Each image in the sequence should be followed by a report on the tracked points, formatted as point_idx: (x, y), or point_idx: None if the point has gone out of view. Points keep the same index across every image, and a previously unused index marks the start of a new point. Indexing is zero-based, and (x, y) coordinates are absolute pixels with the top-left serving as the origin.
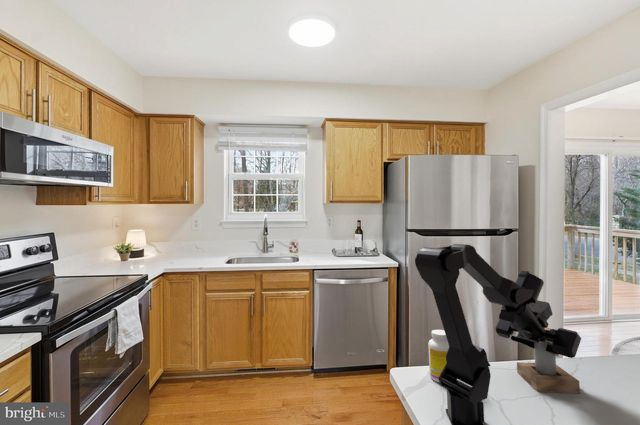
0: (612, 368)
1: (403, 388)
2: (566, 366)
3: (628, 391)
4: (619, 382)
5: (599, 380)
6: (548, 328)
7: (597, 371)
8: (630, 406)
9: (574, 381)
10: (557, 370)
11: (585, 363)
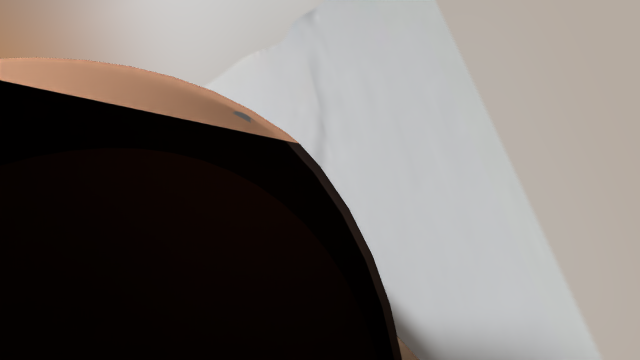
0: (402, 38)
1: None
2: (287, 103)
3: (505, 186)
4: (457, 129)
5: (410, 155)
6: (158, 93)
7: (379, 83)
8: (579, 339)
9: None
10: None
11: (332, 44)
